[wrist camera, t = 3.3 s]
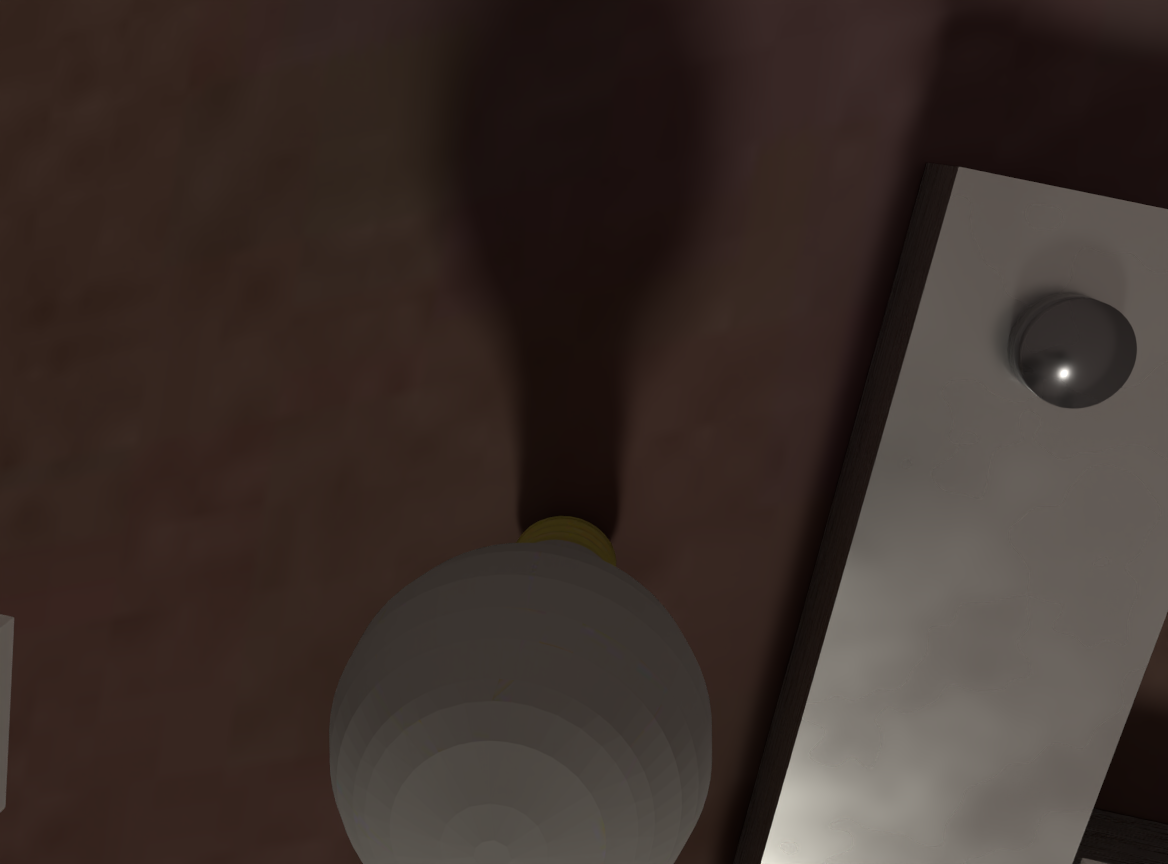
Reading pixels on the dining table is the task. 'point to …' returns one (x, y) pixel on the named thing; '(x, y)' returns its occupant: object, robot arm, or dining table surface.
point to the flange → (986, 548)
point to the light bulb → (522, 714)
